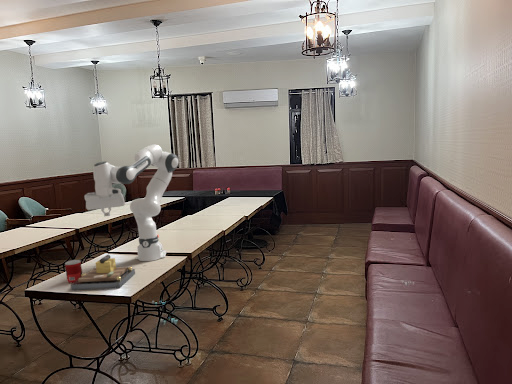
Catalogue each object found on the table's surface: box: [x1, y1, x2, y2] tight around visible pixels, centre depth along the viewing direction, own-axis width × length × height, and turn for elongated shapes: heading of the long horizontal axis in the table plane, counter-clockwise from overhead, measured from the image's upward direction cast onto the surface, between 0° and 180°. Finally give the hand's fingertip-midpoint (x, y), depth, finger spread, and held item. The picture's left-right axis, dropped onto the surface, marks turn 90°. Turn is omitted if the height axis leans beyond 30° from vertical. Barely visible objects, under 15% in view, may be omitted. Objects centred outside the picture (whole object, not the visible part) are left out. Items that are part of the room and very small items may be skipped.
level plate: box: [78, 254, 129, 282], centre depth 218 cm, size 19×20×10 cm
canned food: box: [64, 259, 83, 284], centre depth 223 cm, size 8×8×11 cm
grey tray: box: [70, 266, 136, 291], centre depth 218 cm, size 22×26×5 cm
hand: (107, 215), depth 221 cm, fingers closed
